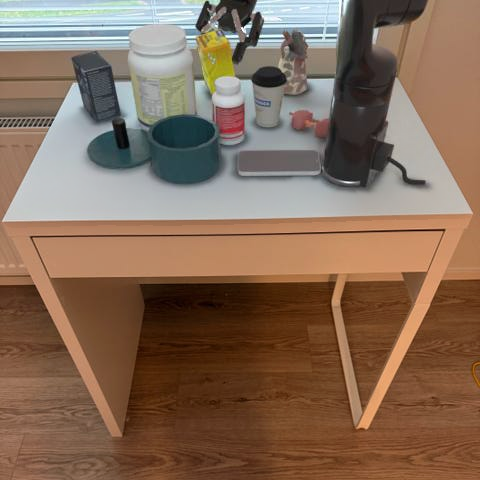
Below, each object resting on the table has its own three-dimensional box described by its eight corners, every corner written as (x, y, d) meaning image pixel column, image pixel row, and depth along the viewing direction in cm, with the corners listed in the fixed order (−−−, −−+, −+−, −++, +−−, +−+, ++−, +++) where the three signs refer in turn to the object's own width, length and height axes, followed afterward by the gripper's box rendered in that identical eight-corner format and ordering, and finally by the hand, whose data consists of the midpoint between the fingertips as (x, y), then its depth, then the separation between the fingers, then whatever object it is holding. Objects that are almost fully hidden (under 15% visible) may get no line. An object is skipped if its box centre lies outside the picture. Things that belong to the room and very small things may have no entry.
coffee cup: (271, 110, 104) (273, 60, 97) (291, 124, 100) (295, 73, 93) (244, 119, 102) (244, 69, 94) (263, 133, 98) (264, 82, 90)
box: (83, 108, 106) (70, 56, 98) (108, 101, 108) (97, 50, 100) (96, 123, 102) (83, 70, 93) (122, 116, 103) (111, 64, 95)
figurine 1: (308, 94, 109) (314, 35, 100) (277, 95, 109) (280, 36, 100) (304, 80, 114) (310, 23, 105) (274, 81, 114) (276, 23, 105)
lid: (173, 144, 96) (170, 113, 91) (130, 178, 88) (124, 147, 84) (119, 127, 101) (113, 97, 96) (73, 158, 93) (64, 128, 88)
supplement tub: (155, 105, 107) (142, 18, 94) (207, 114, 104) (201, 26, 91) (127, 132, 99) (110, 41, 86) (182, 143, 96) (173, 51, 83)
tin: (233, 157, 93) (232, 124, 88) (196, 191, 86) (193, 158, 81) (178, 140, 97) (174, 108, 92) (138, 171, 90) (132, 138, 85)
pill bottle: (250, 140, 97) (251, 83, 88) (224, 149, 95) (222, 92, 86) (233, 127, 100) (232, 71, 92) (207, 135, 98) (204, 79, 90)
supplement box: (205, 85, 112) (194, 36, 103) (229, 77, 112) (221, 27, 103) (212, 99, 108) (202, 49, 99) (237, 90, 109) (230, 40, 100)
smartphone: (238, 150, 93) (317, 149, 92) (238, 154, 93) (317, 154, 93) (237, 172, 88) (321, 171, 87) (237, 176, 89) (321, 176, 88)
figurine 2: (296, 120, 104) (279, 127, 99) (299, 103, 101) (281, 110, 97) (347, 136, 99) (332, 145, 94) (351, 119, 97) (336, 127, 92)
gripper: (208, -37, 102) (181, 42, 104) (269, -25, 97) (239, 57, 99) (222, -14, 109) (197, 59, 111) (280, -2, 104) (252, 74, 106)
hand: (217, 58), depth 105 cm, fingers closed on supplement box, 8 cm apart
